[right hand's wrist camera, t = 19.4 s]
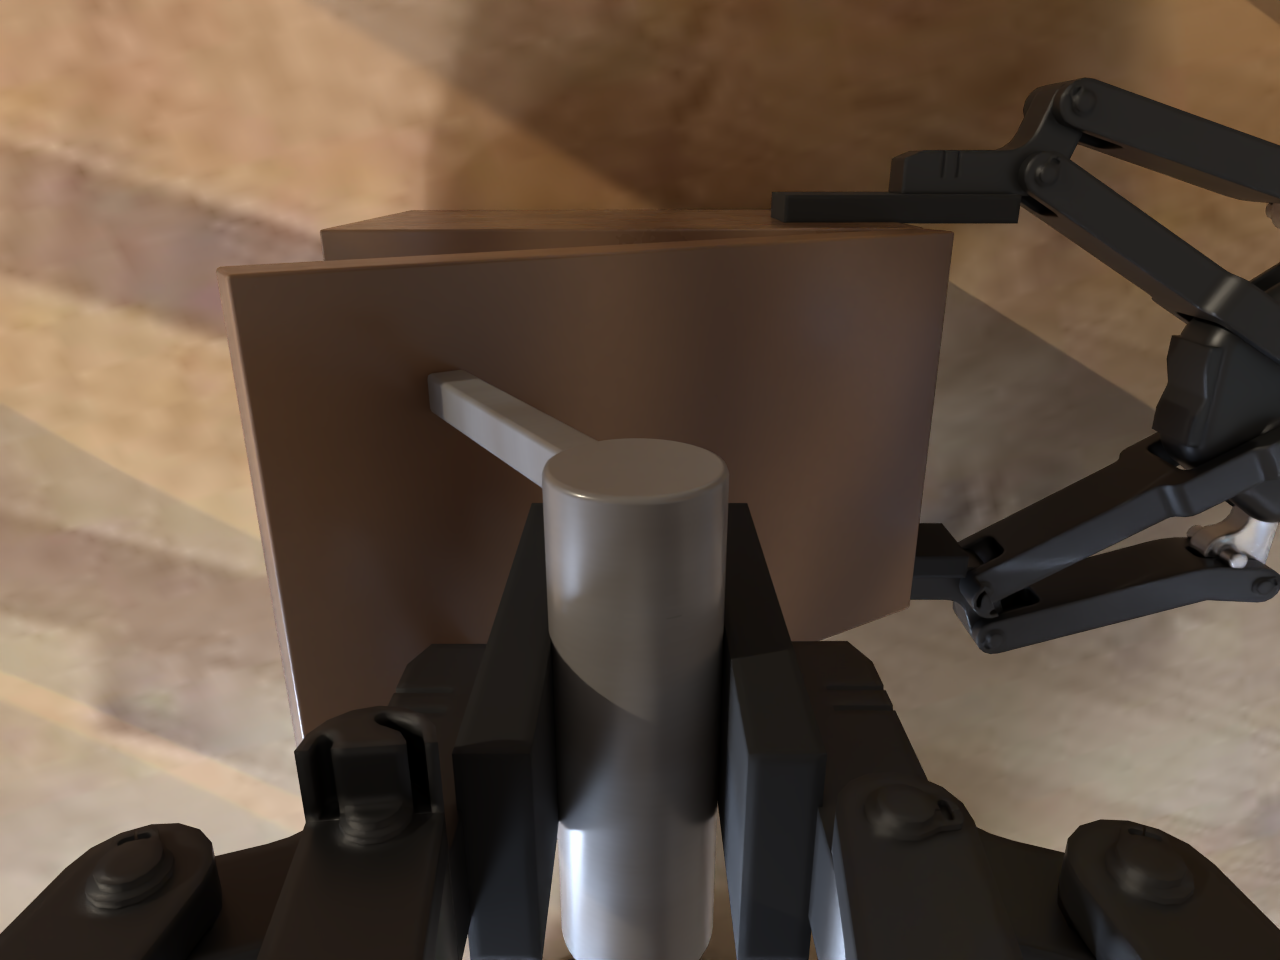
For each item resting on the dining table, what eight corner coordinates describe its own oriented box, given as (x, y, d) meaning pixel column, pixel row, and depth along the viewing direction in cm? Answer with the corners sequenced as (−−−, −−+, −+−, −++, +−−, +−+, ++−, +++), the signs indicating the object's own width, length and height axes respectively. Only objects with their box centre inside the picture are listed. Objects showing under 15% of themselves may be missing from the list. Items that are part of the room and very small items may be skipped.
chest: (434, 479, 34) (364, 593, 25) (409, 210, 31) (318, 229, 22) (815, 475, 35) (885, 588, 25) (835, 209, 31) (925, 227, 22)
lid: (303, 788, 17) (456, 1208, 10) (214, 266, 14) (357, 369, 7) (876, 590, 25) (1180, 752, 18) (913, 228, 22) (1310, 257, 15)
